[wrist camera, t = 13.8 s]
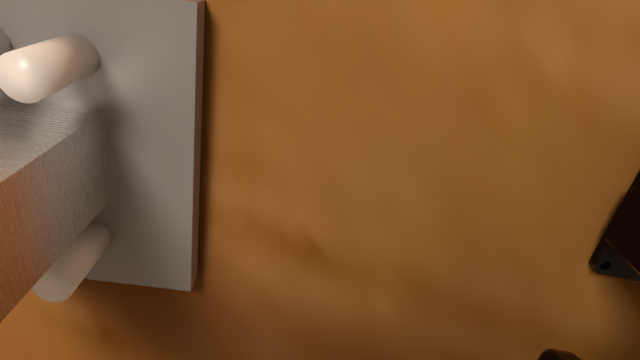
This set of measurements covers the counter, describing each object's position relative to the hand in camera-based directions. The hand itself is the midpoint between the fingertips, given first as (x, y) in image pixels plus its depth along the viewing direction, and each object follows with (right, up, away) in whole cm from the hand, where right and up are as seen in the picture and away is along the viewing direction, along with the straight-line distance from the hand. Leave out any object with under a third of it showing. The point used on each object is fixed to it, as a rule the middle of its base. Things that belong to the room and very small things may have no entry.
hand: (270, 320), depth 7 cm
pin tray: (-10, +4, +13) cm, 17 cm away
